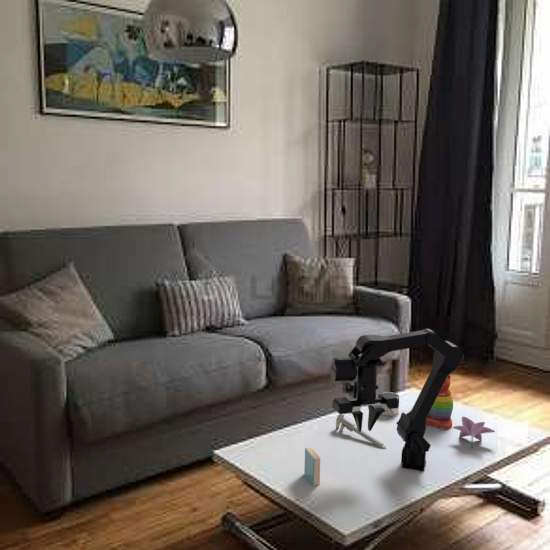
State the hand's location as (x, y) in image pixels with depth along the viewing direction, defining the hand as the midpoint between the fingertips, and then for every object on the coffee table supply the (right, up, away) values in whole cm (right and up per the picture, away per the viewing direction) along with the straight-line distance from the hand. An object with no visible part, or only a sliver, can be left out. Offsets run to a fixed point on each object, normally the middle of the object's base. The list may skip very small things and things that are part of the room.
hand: (364, 430), depth 183 cm
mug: (+16, -5, +47) cm, 50 cm away
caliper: (+2, -9, +23) cm, 25 cm away
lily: (+38, -10, +21) cm, 44 cm away
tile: (-16, -13, -4) cm, 21 cm away
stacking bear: (+31, -6, +37) cm, 49 cm away
